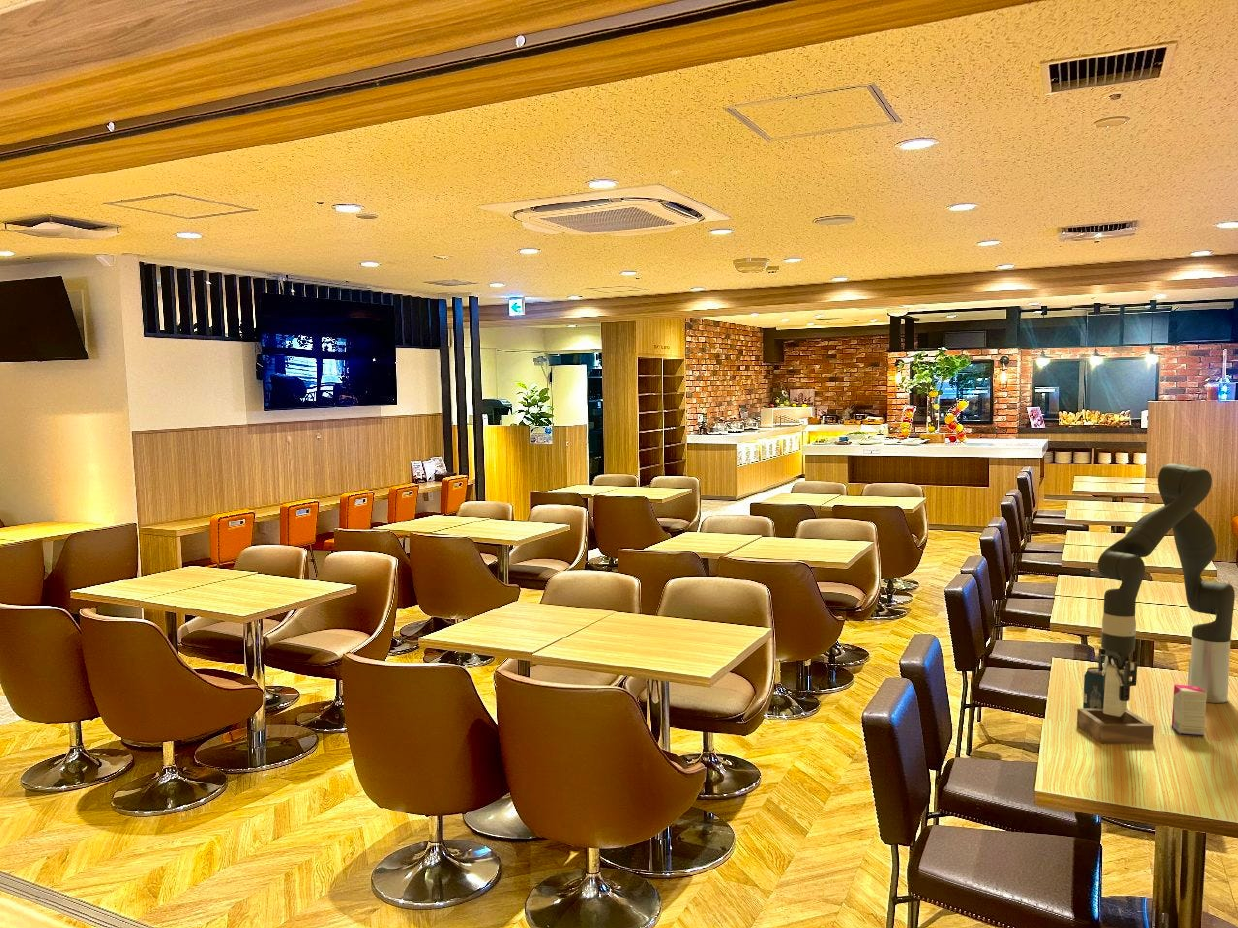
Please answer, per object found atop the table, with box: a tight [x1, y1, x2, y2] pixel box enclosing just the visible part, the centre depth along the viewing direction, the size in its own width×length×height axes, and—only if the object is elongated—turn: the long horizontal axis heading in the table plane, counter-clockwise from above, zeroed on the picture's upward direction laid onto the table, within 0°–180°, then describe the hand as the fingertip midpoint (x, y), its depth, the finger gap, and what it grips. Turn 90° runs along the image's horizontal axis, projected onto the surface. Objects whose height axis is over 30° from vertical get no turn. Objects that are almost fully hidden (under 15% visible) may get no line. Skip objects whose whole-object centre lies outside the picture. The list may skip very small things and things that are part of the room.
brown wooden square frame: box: [1076, 707, 1155, 745], centre depth 236 cm, size 13×13×4 cm
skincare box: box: [1103, 664, 1128, 717], centre depth 235 cm, size 6×4×12 cm
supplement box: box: [1171, 684, 1207, 738], centre depth 237 cm, size 6×6×12 cm
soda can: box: [1082, 666, 1104, 708], centre depth 250 cm, size 7×7×12 cm
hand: (1115, 695), depth 235 cm, fingers closed on skincare box, 7 cm apart
